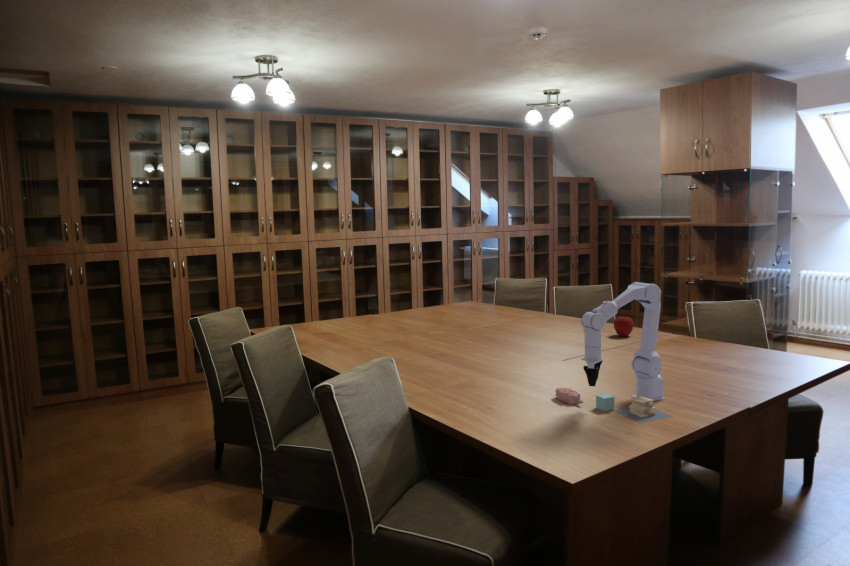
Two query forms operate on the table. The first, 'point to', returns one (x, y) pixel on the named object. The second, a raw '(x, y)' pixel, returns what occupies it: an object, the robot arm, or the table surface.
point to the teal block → (605, 402)
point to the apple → (623, 325)
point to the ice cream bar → (568, 396)
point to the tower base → (642, 411)
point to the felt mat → (642, 419)
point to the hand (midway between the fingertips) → (593, 382)
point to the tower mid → (642, 402)
